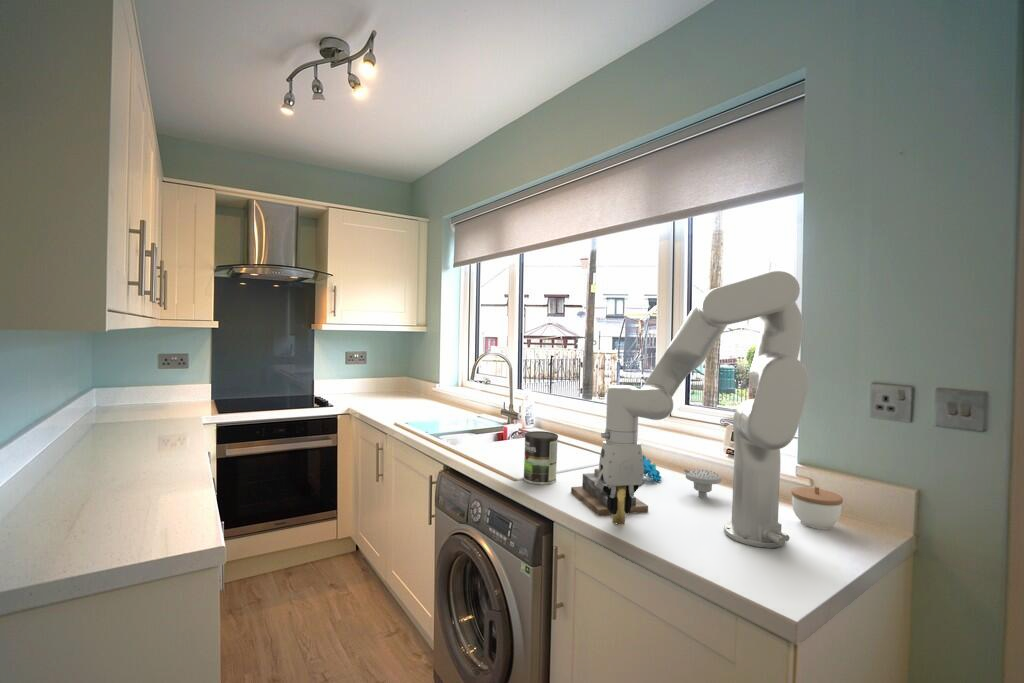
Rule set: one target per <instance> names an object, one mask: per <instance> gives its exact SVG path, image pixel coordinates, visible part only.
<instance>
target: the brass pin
mask: <svg viewBox="0 0 1024 683" xmlns="http://www.w3.org/2000/svg"><path fill="white" fill-rule="evenodd" d="M615 497H616V498H617V513H616V514H612V523H613V524H614V523H617V524H616V525H618V524H623V525H625V524H626V513H625V509H626V486H616V492H615ZM624 523H625V524H624Z"/></svg>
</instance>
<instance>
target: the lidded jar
mask: <svg viewBox="0 0 1024 683" xmlns="http://www.w3.org/2000/svg"><path fill="white" fill-rule="evenodd" d="M843 500H844V499H843V496H841V495H840V494H838V493H836V492H833V491H829V490H827V489H824V488H820V487H819V486H814V487H810V486H798V487H793V488H792V489H791V503H792V504H791V506H792V510H793V513H794V514H795V516H796V518H798V521H799V520H800V523H801V524H802V525H804V526H806V527H807V528H812V529H815V530H823V529H825V530H830V529H831V527H833V526H834V525H835V524H836V523H838V521H839V520H840V518H841V513H842V507H843V505H842V504H843V502H844V501H843ZM829 528H830V529H829Z"/></svg>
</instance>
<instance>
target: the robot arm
mask: <svg viewBox="0 0 1024 683" xmlns="http://www.w3.org/2000/svg"><path fill="white" fill-rule="evenodd" d="M800 290H801V288H800V283H799V281H798V279H797V278H796V277H795V276H793V274H790V272H786V271H783V270H774V271H769V272H767V273H763V274H761V275H757V276H754V277H753V276H752V277H750V278H747V279H744V280H740V281H738V282H733V283H729V284H726V285H722V286H719V287H715V288H712V289H709V290H708V291H706V292H704V293H703V294H702V295H701V296H700V297H699V298H698V299H697V301H696V303H695V304H694V306H693V307H692V309H691V310H690V312H689V313H688V315H687V317H686V319H685V320H684V322H683V323H682V324H681V326H680V328H679V330H678V331H677V333H676V334H675V336H674V337H673V339H672V340H671V342H670V343H669V345H668V346H667V348H666V350H665V351H664V353H663V355H662V356H661V357H660V360H659V361H658V362H657V363H656V365H655V367H654V368H653V369H652V371H651V373H650V375H649V376H648V377H647V379H646V380H645V383H644V384H643V385H642V387H641V388H637V387H635V386H634V385H633V386H632V385H625V384H615V385H611V386H609V387H608V388H607V391H606V392H607V393H606V418H605V419H606V420H605V422H606V423H605V431H604V432H603V431H602V432H601V433H600V438H601V439H604V440H603V442H602V446H601V449H600V455H599V463H598V469H599V475H598V477H597V479H596V481H595V483H594V485H595V486H596V487H598V488H600V489H602V490H603V491H604V492H605V493H606V494H607V508H608V510H609V511H610V512H611V513H612V515H613V514H616V513H617V498H616V497H615V492H616V486H626V509H625V512H626V513H625V514H631V513H630V508H631V502H632V497H633V496H634V497H635V493H636V491H637V490H638V489H639V488H640V487H642V486H644V485H645V484H646V480H645V479H644V476H645V475H644V469H643V455H644V454H643V450H642V449H643V448H642V444H641V442H638V436H639V435H638V434H639V433H638V432H639V431H638V430H639V429H638V428H639V418H644V419H648V420H652V421H655V420H656V421H661V420H664V419H666V418H668V417H669V416H670V415H671V414H672V412H673V410H674V401H673V397H674V395H675V393H676V392H677V390H678V389H679V387H680V386H681V384H682V383H683V382H684V380H686V378H687V376H688V375H689V374H690V373H692V372H693V371H695V370H696V369H697V368H699V366H701V365H702V364H703V363H704V362H705V360H706V359H707V357H708V356H709V354H710V353H711V351H712V349H713V347H714V346H715V344H716V343H717V341H718V340H719V338H720V337H721V335H722V334H723V332H724V331H725V329H726V328H727V326H729V325H732V324H737V323H741V322H745V321H750V320H752V319H757V318H759V321H760V322H759V323H760V332H759V336H758V342H757V345H756V349H755V352H754V356H753V360H752V363H751V366H750V369H749V373H748V378H749V382H750V384H751V386H752V388H754V389H755V390H756V391H755V394H754V398H750V399H747V400H744V401H743V402H741V403H740V404H739V405H738V406H737V408H736V409H735V411H734V413H733V420H732V429H733V442H734V443H733V445H734V450H733V452H734V453H733V454H734V455H733V473H732V474H733V476H732V478H733V479H732V481H733V482H732V504H731V505H732V506H731V508H732V509H731V521H729V522H727V523H725V524H724V527H723V532H724V534H725V535H727V537H729V539H730V538H731V540H734V541H736V542H738V543H741V544H744V545H748V546H751V547H757V548H766V549H767V548H770V549H772V548H778V547H783V546H784V545H785V544H786V542H788V541H789V540H790V535H789V534H787V533H785V532H782V525H783V524H782V523H780V522H779V506H780V505H779V504H780V481H781V480H780V479H781V478H780V476H781V462H782V461H781V449H783V448H786V447H787V446H788V445H790V443H791V442H792V441H793V439H794V438H795V437H796V433H797V432H798V428H799V425H800V423H801V422H800V421H801V418H802V415H803V411H804V409H805V408H804V407H805V403H806V400H807V397H808V396H807V395H808V393H809V388H810V376H809V372H808V370H807V369H808V368H806V366H805V365H804V363H803V362H802V361H800V360H799V355H800V349H801V346H802V345H801V344H802V340H803V337H804V320H803V315H802V313H801V310H800V308H799V305H797V303H796V302H797V300H798V298H799V296H800V294H801V291H800ZM603 481H604V483H606V485H604V484H603Z"/></svg>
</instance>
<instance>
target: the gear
mask: <svg viewBox="0 0 1024 683" xmlns="http://www.w3.org/2000/svg"><path fill="white" fill-rule="evenodd" d="M642 455H643V469H644V476H647V477H649V478H652V480H653V481H654V482H657V483H658V482H659V481H660V482H661V479H662V478H663V477H662V476H661V475H660V474H661V472H660V471H659V470H658V469H657V465H656V464H655V463H652V460H650V458H647V457H646V456H645V455H644V454H642Z"/></svg>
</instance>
